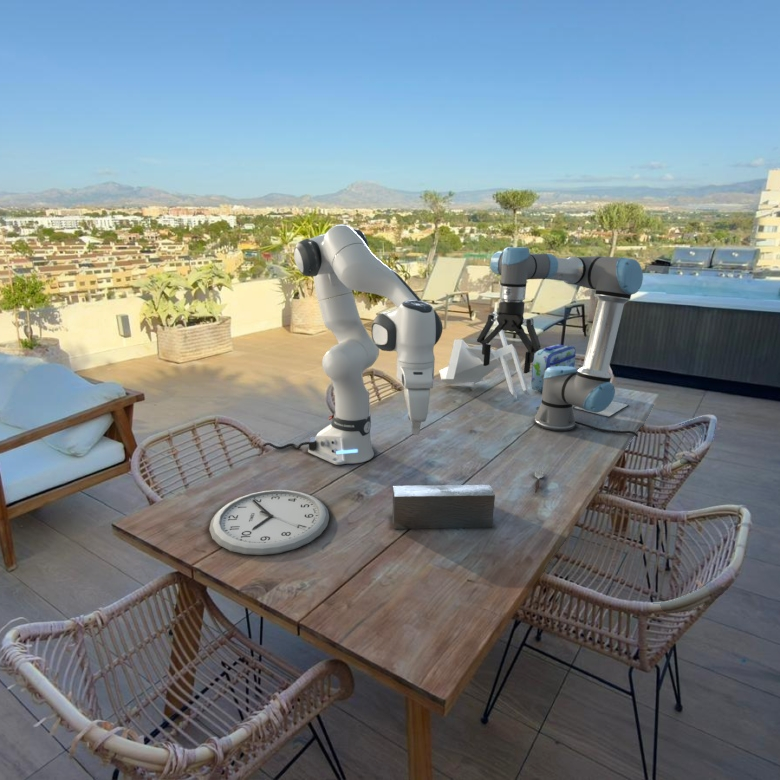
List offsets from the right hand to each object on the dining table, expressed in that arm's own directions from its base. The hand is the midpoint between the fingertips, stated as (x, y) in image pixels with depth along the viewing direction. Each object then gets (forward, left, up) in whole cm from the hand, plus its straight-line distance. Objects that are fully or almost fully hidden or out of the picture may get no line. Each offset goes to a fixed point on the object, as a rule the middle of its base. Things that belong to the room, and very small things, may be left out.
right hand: (506, 368), depth 163 cm
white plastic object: (+3, -74, -31) cm, 80 cm away
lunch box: (-32, -85, -31) cm, 96 cm away
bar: (+18, +41, -31) cm, 55 cm away
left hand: (+26, +43, -4) cm, 50 cm away
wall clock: (+61, +47, -31) cm, 83 cm away
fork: (-11, +15, -31) cm, 36 cm away
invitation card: (-49, -62, -31) cm, 85 cm away
